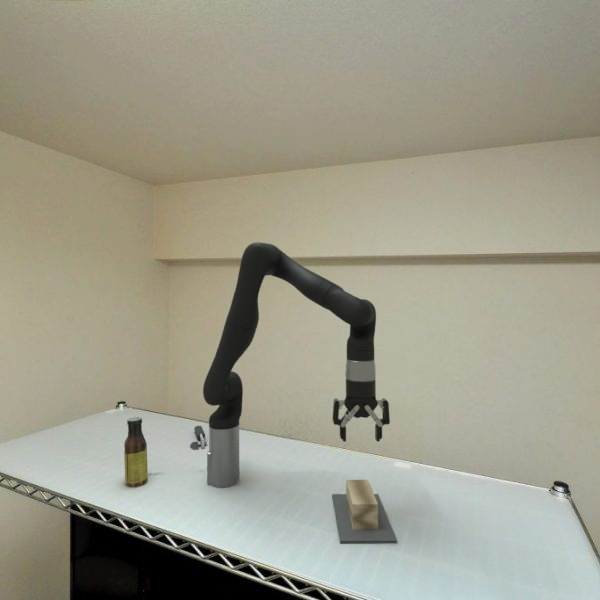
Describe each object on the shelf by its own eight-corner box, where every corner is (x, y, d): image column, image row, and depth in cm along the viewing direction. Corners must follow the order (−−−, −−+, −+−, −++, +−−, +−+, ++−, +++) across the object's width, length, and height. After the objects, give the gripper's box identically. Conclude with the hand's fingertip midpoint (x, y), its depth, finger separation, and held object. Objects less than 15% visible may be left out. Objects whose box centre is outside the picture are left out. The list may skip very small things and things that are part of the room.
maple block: (352, 529, 86) (352, 504, 86) (346, 501, 98) (346, 479, 98) (378, 529, 86) (377, 504, 86) (368, 501, 98) (368, 479, 98)
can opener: (208, 453, 132) (208, 439, 132) (190, 456, 130) (190, 442, 130) (205, 435, 150) (205, 423, 150) (188, 437, 148) (188, 424, 148)
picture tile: (340, 543, 82) (340, 540, 82) (332, 496, 102) (332, 494, 102) (397, 543, 82) (397, 540, 82) (378, 496, 102) (378, 493, 102)
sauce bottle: (152, 482, 110) (152, 417, 111) (135, 492, 105) (135, 423, 105) (136, 478, 113) (136, 414, 113) (119, 487, 108) (119, 420, 108)
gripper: (334, 380, 89) (334, 446, 89) (392, 380, 89) (392, 446, 89) (331, 374, 96) (331, 435, 96) (384, 373, 96) (385, 435, 96)
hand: (360, 440), depth 92 cm, fingers open, 8 cm apart
